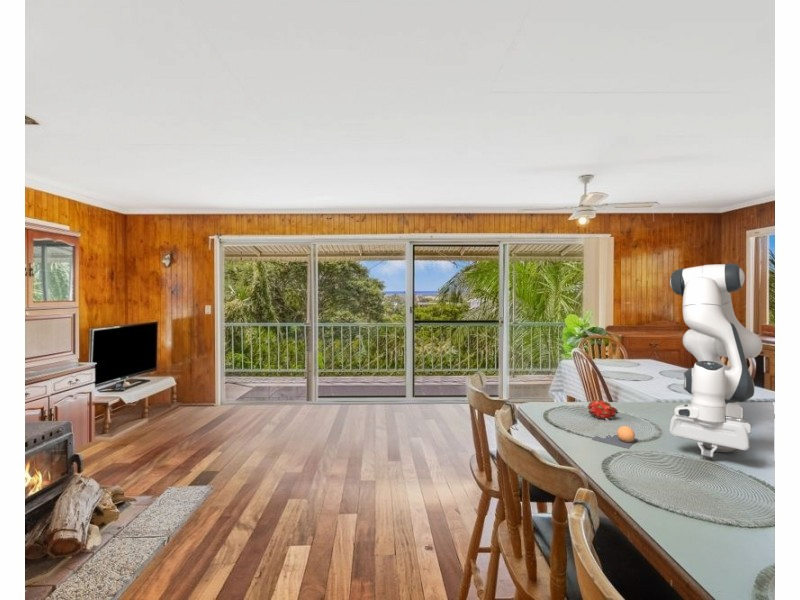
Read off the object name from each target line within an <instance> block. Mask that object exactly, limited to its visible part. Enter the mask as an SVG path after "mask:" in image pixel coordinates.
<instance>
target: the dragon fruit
mask: <svg viewBox="0 0 800 600" xmlns="http://www.w3.org/2000/svg"><path fill="white" fill-rule="evenodd" d="M586 407H587V409H588V413H589V414H590V415H594V417H595V416H596V417H595V418H596V419H598V418H599V419H602V418H608V419H610V418H615V417H616V415H617V414H619V411H618V409H617V408H615V407H613V406H612V405H611V403H608V401H604V400H603V399H601V400H600V399H594V400H591V401H590V402H589V403H588V405H587V406H586ZM600 417H601V418H600Z"/></svg>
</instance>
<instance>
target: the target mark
mask: <svg viewBox="0 0 800 600" xmlns="http://www.w3.org/2000/svg"><path fill="white" fill-rule="evenodd" d="M608 436H609V437H608ZM608 436H606V438H604V439H603V438H599V437H598V436H596V435H595V436H594V437H592V438H591V440H592V441H596V442H601V443H604V444H608V445H613V446H617V447H621V448H624V449H628V450H629V449H630V447H632V446H633V444H634V443H635V442H636V441H637V440H638V438H636V437H635V438H634V440H633V441H631V442H623V441H621V440H620V439H619V437H618V435H614V436H613V437H611V436H610V435H608Z"/></svg>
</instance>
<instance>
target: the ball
mask: <svg viewBox="0 0 800 600" xmlns="http://www.w3.org/2000/svg"><path fill="white" fill-rule="evenodd" d="M616 434H617V435H618V437H619V439H620V440H621V441H623V442H631V441H633V440H634V438H636V434H635V430H633V428H631V427H630V426H627V425H622V426H620V427H619V428H618V429H617V431H616Z"/></svg>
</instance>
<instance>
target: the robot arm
mask: <svg viewBox="0 0 800 600" xmlns="http://www.w3.org/2000/svg"><path fill="white" fill-rule="evenodd" d="M745 277H746V276H745V272H744V270H743V269H742V268H741V266H740V265H738V264H737V263H723V264H722V263H720V264H718V263H717V264H704V265H698V266H692V267H687V268H684V267H682V268H679V269H676V270H673V272H672V273H671V276H670V277H669V278H670V280H669V285H670V287H671V290H672V292H673V293H674V294H675V295H678V296H681V297H682V317H683V321H684V323H685V325H686V326H687V327H688V328H689V329H688V330H686V332H685V333H684V334H683V336H682V345H683V346H684V348H685V350H686V351H688V352H689V353H690V354H691V355H693V356H694V358H695V359H696V361H697V362H695V363H694V365H693V367H691V368H688V369H687V370H686V371H684V373H683V376H684V379H683V380H684V381H683V390H685V391H686V392H687V393H688V394H690V395H692V398H691V401H690V402H691V403H687V404H685V403H684V404H678V405H676V407H675V408H674V415H673V416H671V418H670V423H669V433H670V435H672V436H675V437H679V438H684V439H689V440H693V441H696V442H697V443H696V444H697V446H698V447H699V449H700V451H701V452H700V453H701V456H705V457H709V458H713V457H714V452H716V451H715V450H716V449H717V447H718V445H721V446H726V447H731V448H736V449H735V450H742V451H747V450H749V448H750V436H749V434H750V433H751V432H752V425H751V423H750V422H749V421H748V420H746V419H744V418H745V417H744V415H743V407H742V406H741V405H740V404H739V403H744V402H746V401H748V400H750V399H751V398H753V397H754V394H755V389H756V388H755V383H754V380H753V379H752V375H751V373H750V369H749V367H748V364H747V360H746V359H754V358H757V357H758V356H759V355H760V353H761V352H762V350H763V347H764V346H763V342H762V339H761V338H760V336H759V335H758V334H756V333H754V332H753V331H750V329H748V328H746V327H745V326H744V325H743V324H742V323H741V322H740V321H739V320H738V318H737V317H736V314H735V311H734V307H733V306H734V305H733V303H732V302H733V300H732V295H731V293H734V292H738V291H740V289H742V288H743V285H744V283H745ZM721 357H725V358H727V360H728V363H729V366H728V365H726V364H725V363H723V361H722V360H721ZM703 442H707V443H712V447H713V448H712V449H711V450H710V449H708V448H707V449H706V448H705V446H704V445H703Z"/></svg>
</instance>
